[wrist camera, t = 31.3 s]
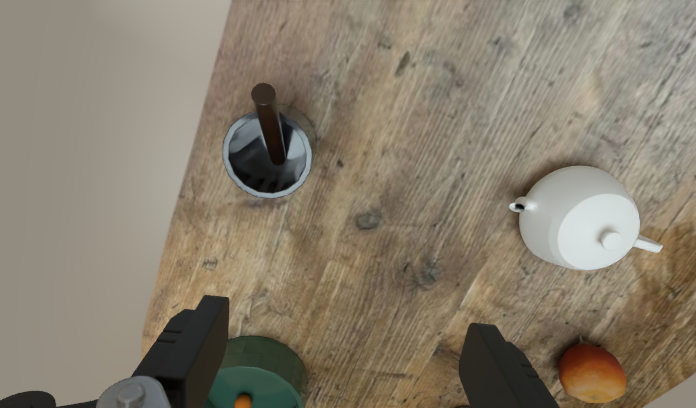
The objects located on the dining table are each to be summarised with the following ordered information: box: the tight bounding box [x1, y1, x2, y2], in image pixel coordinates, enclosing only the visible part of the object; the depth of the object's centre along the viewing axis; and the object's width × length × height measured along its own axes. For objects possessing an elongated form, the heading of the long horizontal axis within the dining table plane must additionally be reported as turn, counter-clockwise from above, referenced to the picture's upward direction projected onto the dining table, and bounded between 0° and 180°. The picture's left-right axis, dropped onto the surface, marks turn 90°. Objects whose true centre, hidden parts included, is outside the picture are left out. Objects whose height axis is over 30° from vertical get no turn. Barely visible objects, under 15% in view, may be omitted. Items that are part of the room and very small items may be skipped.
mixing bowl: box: [203, 336, 307, 408], centre depth 53 cm, size 15×15×6 cm
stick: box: [251, 83, 286, 165], centre depth 37 cm, size 2×2×16 cm
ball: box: [234, 395, 252, 408], centre depth 55 cm, size 2×2×2 cm
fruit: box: [559, 335, 626, 403], centre depth 53 cm, size 8×8×8 cm
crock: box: [223, 104, 317, 199], centre depth 41 cm, size 8×8×9 cm
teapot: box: [510, 166, 663, 270], centre depth 44 cm, size 20×12×10 cm, turn 72°
